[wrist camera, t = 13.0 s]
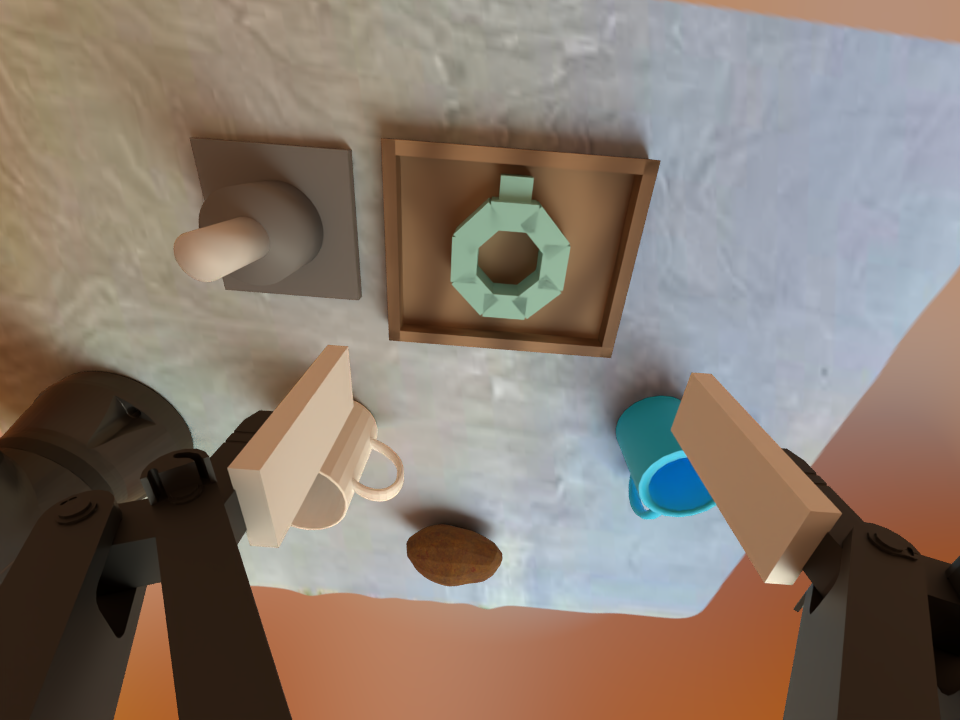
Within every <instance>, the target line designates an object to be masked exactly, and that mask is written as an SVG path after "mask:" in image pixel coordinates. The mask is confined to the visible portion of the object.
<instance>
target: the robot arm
mask: <svg viewBox="0 0 960 720" xmlns="http://www.w3.org/2000/svg"><path fill="white" fill-rule="evenodd" d="M353 407H354V405H353V394H352V383H351V372H350V361H349V351H348V346H335V345H328V346H327V347H326V348H325V349H324V350H323V352H322V353H321V354H320V355H319V357H318V358H317V359H316V360H315V361H314V363H313V364H312V365H311V366H310V368H309V369H308V370H307V371H306V372H305V374H304V375H303V376H302V377H301V379H300V380H299V381H298V382H297V383H296V385H295V386H294V387H293V388H292V390H291V391H290V392H289V393H288V394H287V396H286V397H285V398H284V399H283V401H282V402H281V403H280V404H279V405H278V407H277V408H276V409H275V410H274V411H258V412H256V413H255V414H253V415H251V416H250V417H248V418H246V419H245V420H244V421H243V422H242V423H241V424H240V425H239V426H238V427H237V428H236V430H235V431H234V433H232V434H231V435H230V436H229V437H228V438H227V440H226V442H225V443H223V444H222V445H221V446H220V447H219V448H218V450H217V451H216V452H215V453H214V454H213V455H212V456H211V457H210V458H209V456H208V455H207V453H206V452H205V451H202V450H199V449H193V441H192V437H191V434H190V431H189V429H188V427H187V425H186V423H185V422H184V420H183V419H182V417H181V416H180V415H179V413H178V412H177V411H176V410H175V409H174V408H173V407H172V406H171V405H170V404H169V403H168V402H167V401H166V400H165V399H163V398H162V397H161V396H160V395H158V394H157V393H155V392H154V391H152V390H151V389H149V388H147V387H146V386H144V385H142V384H140V383H138V382H136V381H134V380H131V379H129V378H126V377H123V376H120V375H116V374H112V373H107V372H99V371H87V372H80V373H76V374H73V375H70V376H68V377H66V378H64V379H62V380H60V381H59V382H57V383H55V384H53V385H51V386H50V387H48V388H47V389H45V390H44V391H43V392H41V393H40V394H39V396H38V397H37V398H36V400H35V401H34V403H33V404H32V405H31V406H30V407H29V408H28V409H27V410H26V411H25V412H24V413H23V414H22V415H21V416H20V417H19V418H18V420H17V421H16V422H15V423H14V424H13V425H12V426H11V427H10V428H9V429H8V431H7V432H6V433H5V434H4V435H3V436H2V437H1V438H0V720H113V719H114V715H115V711H116V707H117V703H118V699H119V695H120V691H121V687H122V683H123V679H124V675H125V671H126V667H127V663H128V659H129V655H130V651H131V647H132V643H133V639H134V635H135V631H136V627H137V623H138V619H139V615H140V611H141V607H142V603H143V599H144V595H145V591H146V587H147V585H150V584H154V583H159V582H161V584H162V592H163V599H164V607H165V614H166V623H167V630H168V638H169V646H170V654H171V661H172V669H173V677H174V685H175V692H176V700H177V708H178V716H179V720H292V717H291V714H290V711H289V708H288V705H287V702H286V698H285V695H284V692H283V689H282V686H281V682H280V679H279V676H278V673H277V670H276V666H275V663H274V660H273V657H272V654H271V651H270V647H269V644H268V641H267V638H266V635H265V632H264V629H263V625H262V622H261V619H260V616H259V613H258V609H257V606H256V603H255V600H254V597H253V593H252V590H251V587H250V584H249V581H248V578H247V574H246V571H245V568H244V565H243V562H242V559H241V555H240V552H239V549H238V546H237V544H238V543H239V541H240V540H241V538H242V536H243V535H244V533H245V532H246V533H247V537H248V540H249V543H250V546H262V547H276V548H279V546H280V544H281V543H282V541H283V539H284V537H285V535H286V533H287V531H288V529H289V527H290V526H291V524H292V522H293V520H294V518H295V516H296V514H297V512H298V510H299V509H300V507H301V505H302V503H303V501H304V499H305V497H306V495H307V493H308V492H309V490H310V488H311V486H312V484H313V482H314V480H315V478H316V476H317V475H318V473H319V471H320V469H321V467H322V465H323V463H324V461H325V460H326V458H327V456H328V454H329V452H330V450H331V448H332V446H333V444H334V443H335V441H336V439H337V437H338V435H339V433H340V431H341V429H342V427H343V426H344V424H345V422H346V420H347V418H348V416H349V414H350V412H351V410H352V409H353ZM671 432H672V433H673V435H674V437H675V438H676V440H677V441H678V443H679V445H680V446H681V448H682V450H683V451H684V453H685V454H686V456H687V458H688V459H689V461H690V463H691V464H692V466H693V467H694V469H695V471H696V472H697V474H698V476H699V477H700V479H701V481H702V482H703V484H704V485H705V487H706V489H707V490H708V492H709V494H710V495H711V497H712V498H713V500H714V502H715V503H716V505H717V507H718V508H719V510H720V511H721V513H722V515H723V516H724V518H725V520H726V521H727V523H728V525H729V526H730V528H731V529H732V531H733V533H734V534H735V536H736V538H737V539H738V541H739V542H740V544H741V546H742V547H743V549H744V551H745V552H746V554H747V555H748V557H749V559H750V560H751V562H752V563H753V565H754V567H755V569H756V570H757V572H758V573H759V575H760V577H761V578H762V580H763V581H764V583H773V584H787V585H793V583H794V582H795V581H796V579H797V578H798V576H799V575H800V573H801V572H802V570H803V571H804V572H805V573H806V575H807V576H808V578H809V579H810V580H811V582H812V584H811V586H810V587H809V588H808V590H807V591H806V592H805V594H804V595H803V596H802V598H801V599H800V601H799V602H798V603H797V605H796V606H795V608H794V610H795V611H797V612H799V610H800V609H801V608H803V612H802V617H801V623H800V628H799V634H798V639H797V645H796V650H795V656H794V662H793V667H792V673H791V678H790V683H789V689H788V694H787V700H786V706H785V711H784V717H783V720H960V556H959V557H958V558H957V559H956V560H955V561H954V562H953V563H952V564H949V563H946V562H943V561H939V560H936V559H933V558H930V557H926V556H923V555H921V554H920V553H919V552H918V551H917V550H916V548H915V547H914V546H913V545H912V544H911V543H909V542H908V541H907V540H905V539H904V538H902V537H901V536H900V535H898V534H896V533H894V532H892V531H891V530H889V529H887V528H884V527H882V526H879V525H876V524H873V523H866V522H863V521H862V519H861V518H860V517H859V516H858V515H857V514H856V513H855V512H854V511H853V510H852V509H851V508H850V507H849V506H848V505H847V504H846V503H845V502H844V501H843V500H842V499H841V498H840V497H839V496H838V495H837V494H836V493H835V492H834V491H833V490H832V489H831V488H830V487H829V486H827V485H826V482H824V480H823V479H821V477H820V476H817V475H816V472H815V471H814V470H813V469H812V468H811V467H810V466H809V465H808V464H807V463H806V462H805V461H804V460H803V459H801V458H800V457H798V456H797V455H795V454H794V453H792V452H791V451H789V450H788V449H783V448H780V447H779V446H778V444H777V443H776V442H775V441H774V440H773V439H772V438H771V437H770V436H769V435H768V434H767V433H766V432H765V431H764V430H763V428H762V427H761V426H760V425H759V424H758V423H757V422H756V421H755V420H754V419H753V418H752V417H751V416H750V415H749V414H748V412H747V411H746V410H745V409H744V408H743V407H742V406H741V405H740V404H739V403H738V402H737V401H736V400H735V399H734V398H733V397H732V395H731V394H730V393H729V392H728V391H727V390H726V389H725V388H724V387H723V386H722V385H721V384H720V383H719V382H718V381H717V379H716V378H715V377H714V376H713V375H712V374H705V373H691V375H690V378H689V381H688V383H687V386H686V389H685V392H684V394H683V397H682V400H681V403H680V405H679V408H678V411H677V414H676V416H675V419H674V422H673V425H672V427H671ZM145 497H148V499H143V498H145ZM142 499H143V500H142Z"/></svg>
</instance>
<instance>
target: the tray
mask: <svg viewBox="0 0 960 720" xmlns="http://www.w3.org/2000/svg"><path fill="white" fill-rule="evenodd" d="M381 147H382V173H383V198H384V223H385V248H386V273H387V299H388V324H389V340H393V341H405V342H417V343H430V344H442V345H455V346H467V347H480V348H492V349H505V350H517V351H530V352H542V353H555V354H567V355H580V356H592V357H604V358H611V355H612V351H613V347H614V343H615V339H616V335H617V331H618V327H619V323H620V320H621V316H622V312H623V308H624V304H625V300H626V296H627V292H628V288H629V284H630V280H631V276H632V272H633V268H634V264H635V260H636V256H637V252H638V248H639V244H640V240H641V236H642V232H643V228H644V224H645V220H646V216H647V212H648V208H649V204H650V200H651V196H652V192H653V188H654V185H655V181H656V177H657V173H658V169H659V165H660V160H651V159H640V158H627V157H615V156H602V155H590V154H577V153H565V152H552V151H539V150H527V149H514V148H502V147H489V146H476V145H464V144H451V143H439V142H426V141H414V140H401V139H386V138H381ZM501 174H513V175H526V176H532V177H533V178H534V182H533V190H532V198H531V200H536V201H537V202H538V201H539V203H540V204H541V205H542V207H543V208H544V209H545V211H546V212H547V213H548V215H549V216H550V217H551V219H552V220H553V221H554V223H555V224H556V225H557V227H558V228H559V229H560V231H561V232H562V233H563V235H564V236H565V237H566V239H567V240H568V242H569V243H570V244H569V245H570V246H571V247H570V253H569V259H568V264H567V270H566V276H565V282H564V288H563V291H561V294H560V295H558V296H557V297H556V298H554V299H553V300H552V301H550V302H549V303H548V304H546V305H545V306H544V307H542V308H541V309H540V310H538V311H537V312H536V313H534V314H533V315H532V316H530V317H529V318H528V319H526V318H525V319H524V320H520V319H507V318H495V317H482V315H483V314H481V315H479V314H478V313H477V311H476V310H475V309H474V308H473V307H472V306H471V305H470V304H469V303H468V302H467V301H466V299H465V298H464V297H463V296H462V295H461V294H460V293H459V292H458V291H457V290H456V289H455V288H454V286H453V285H452V282H451V256H452V236H453V234H454V232H455V230H456V228H457V227H458V226H459V225H460V224H461V223H462V222H463V221H464V220H465V219H466V218H467V217H469V216H470V215H471V214H472V213H473V212H474V211H475V210H476V209H477V208H478V207H479V206H481V205H482V204H483V203H484V202H485V201H486V200H487V199H488V198H489V197H490V199H491V200H492V197H499V190H500V178H501ZM538 252H539V248H538V247H537V246H536V244H535V243H534V242H533V241H532V239H531V238H530V237H529V236H528V234H527V233H523V232H511V231H498V232H496V233H495V234H494V235H493V236H492V237H491V238H490V239H488V240H487V241H486V242H485V243H484V244H483V245H481V246H480V247H479V254H478V266H479V267H480V268H481V269H482V270H483V271H484V273H485V274H486V275H487V276H488V277H489V278H490V280H491V281H492V282H493V283H501V284H514V285H517V284H519V283H520V282H521V281H522V280H524V279H525V278H526V277H527V276H529V275H530V274H531V273H532V272H534V271H535V270H536V267H537V259H538Z"/></svg>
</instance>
